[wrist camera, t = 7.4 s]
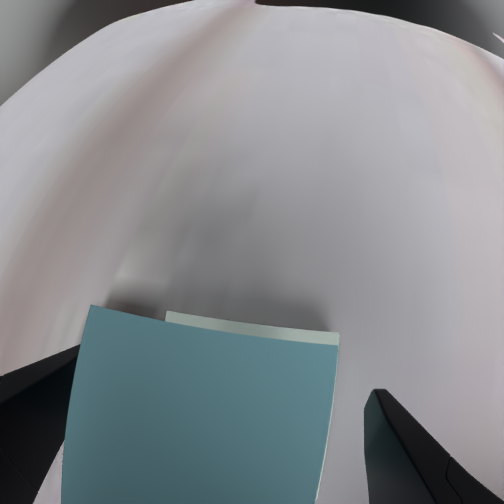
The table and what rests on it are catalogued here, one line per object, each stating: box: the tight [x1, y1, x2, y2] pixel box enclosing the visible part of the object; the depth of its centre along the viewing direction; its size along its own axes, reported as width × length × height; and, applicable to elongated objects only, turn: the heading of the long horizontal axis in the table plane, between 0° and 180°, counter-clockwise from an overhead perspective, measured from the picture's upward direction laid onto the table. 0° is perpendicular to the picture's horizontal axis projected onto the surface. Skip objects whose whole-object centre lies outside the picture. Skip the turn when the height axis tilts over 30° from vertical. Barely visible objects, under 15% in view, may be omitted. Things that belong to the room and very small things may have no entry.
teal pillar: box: [61, 305, 339, 504], centre depth 9 cm, size 4×4×12 cm
